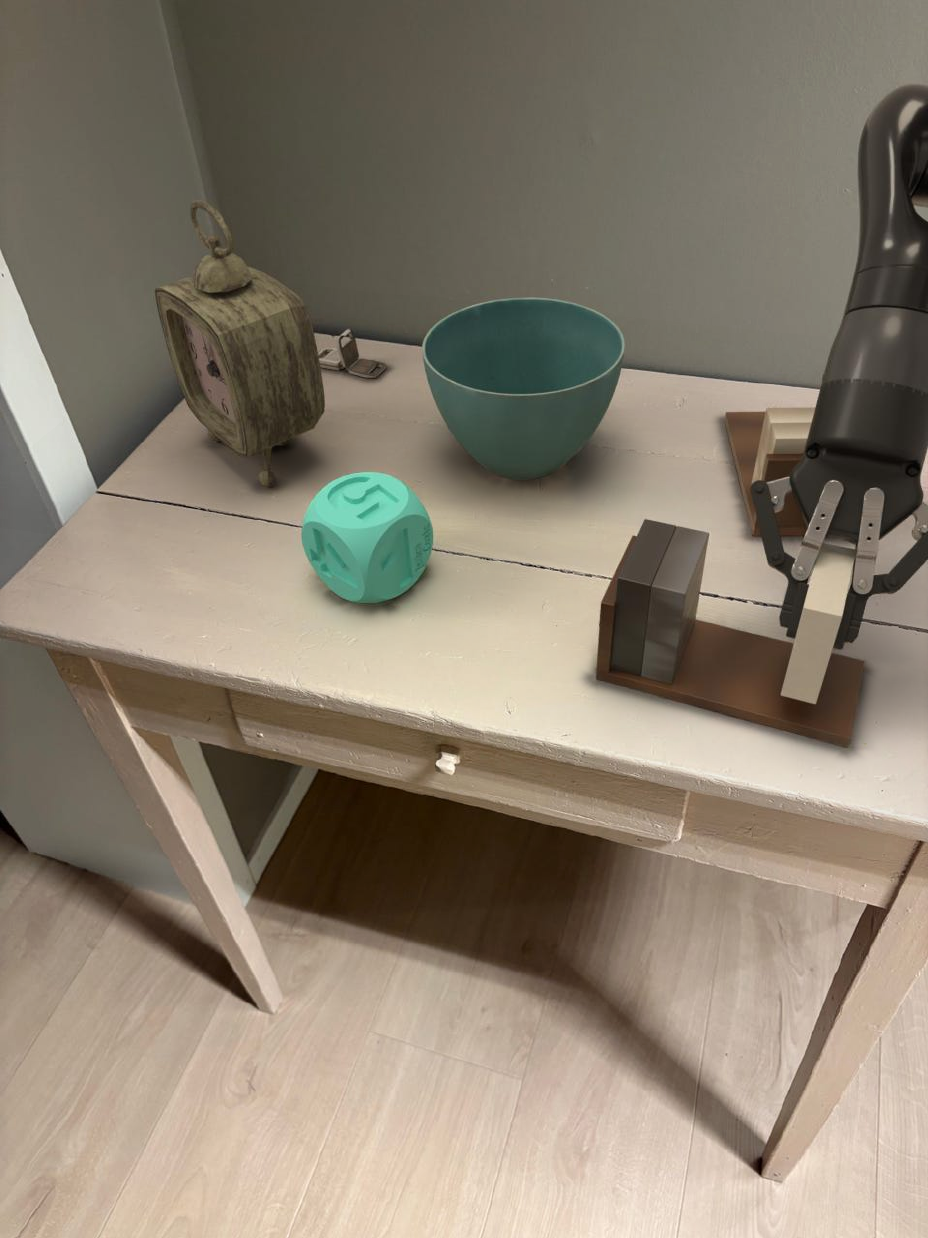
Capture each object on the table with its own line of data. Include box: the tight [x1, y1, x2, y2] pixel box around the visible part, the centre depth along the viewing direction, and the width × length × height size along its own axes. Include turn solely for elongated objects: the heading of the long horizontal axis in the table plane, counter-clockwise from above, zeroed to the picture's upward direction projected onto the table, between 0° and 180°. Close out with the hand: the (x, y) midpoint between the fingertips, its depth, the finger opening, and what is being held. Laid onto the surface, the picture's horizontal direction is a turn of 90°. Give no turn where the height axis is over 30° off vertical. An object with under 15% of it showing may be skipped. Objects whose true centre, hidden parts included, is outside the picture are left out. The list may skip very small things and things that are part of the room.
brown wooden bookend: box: [595, 518, 866, 748], centre depth 69 cm, size 18×8×10 cm, turn 67°
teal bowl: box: [421, 297, 626, 481], centre depth 91 cm, size 18×18×12 cm
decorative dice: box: [300, 471, 434, 604], centre depth 80 cm, size 8×8×8 cm
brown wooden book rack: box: [724, 406, 816, 537], centre depth 87 cm, size 19×8×10 cm, turn 177°
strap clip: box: [318, 328, 387, 379], centre depth 108 cm, size 8×3×4 cm, turn 63°
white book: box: [781, 542, 855, 704], centre depth 66 cm, size 2×7×8 cm, turn 156°
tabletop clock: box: [154, 199, 326, 487], centre depth 89 cm, size 14×9×25 cm, turn 38°
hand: (814, 641), depth 65 cm, fingers closed on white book, 2 cm apart
